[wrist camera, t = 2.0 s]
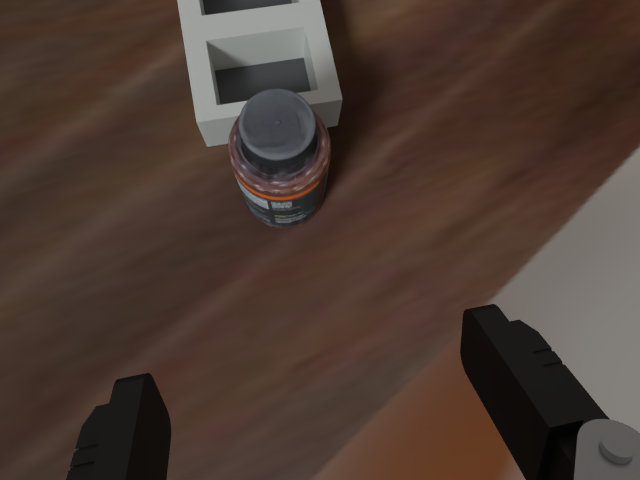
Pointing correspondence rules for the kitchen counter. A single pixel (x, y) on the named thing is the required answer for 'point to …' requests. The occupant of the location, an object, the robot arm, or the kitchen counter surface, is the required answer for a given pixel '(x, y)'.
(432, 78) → the kitchen counter surface
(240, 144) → the supplement bottle
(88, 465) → the robot arm
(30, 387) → the kitchen counter surface
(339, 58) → the kitchen counter surface
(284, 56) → the board
